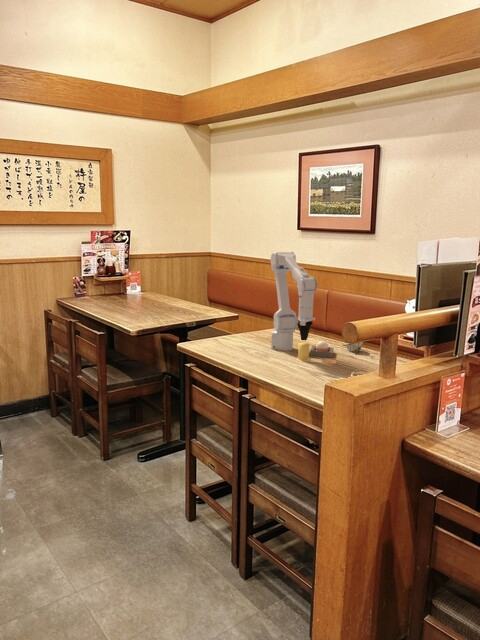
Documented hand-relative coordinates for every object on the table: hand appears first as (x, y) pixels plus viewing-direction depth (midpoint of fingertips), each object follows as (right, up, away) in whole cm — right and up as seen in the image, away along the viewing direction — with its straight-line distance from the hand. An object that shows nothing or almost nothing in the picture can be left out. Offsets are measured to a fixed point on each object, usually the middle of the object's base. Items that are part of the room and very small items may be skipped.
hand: (304, 339), depth 206 cm
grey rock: (+24, -7, +18) cm, 31 cm away
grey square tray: (+9, -7, +10) cm, 15 cm away
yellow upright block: (0, -8, +2) cm, 8 cm away
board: (+7, -9, +6) cm, 13 cm away
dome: (+9, -6, +10) cm, 15 cm away
